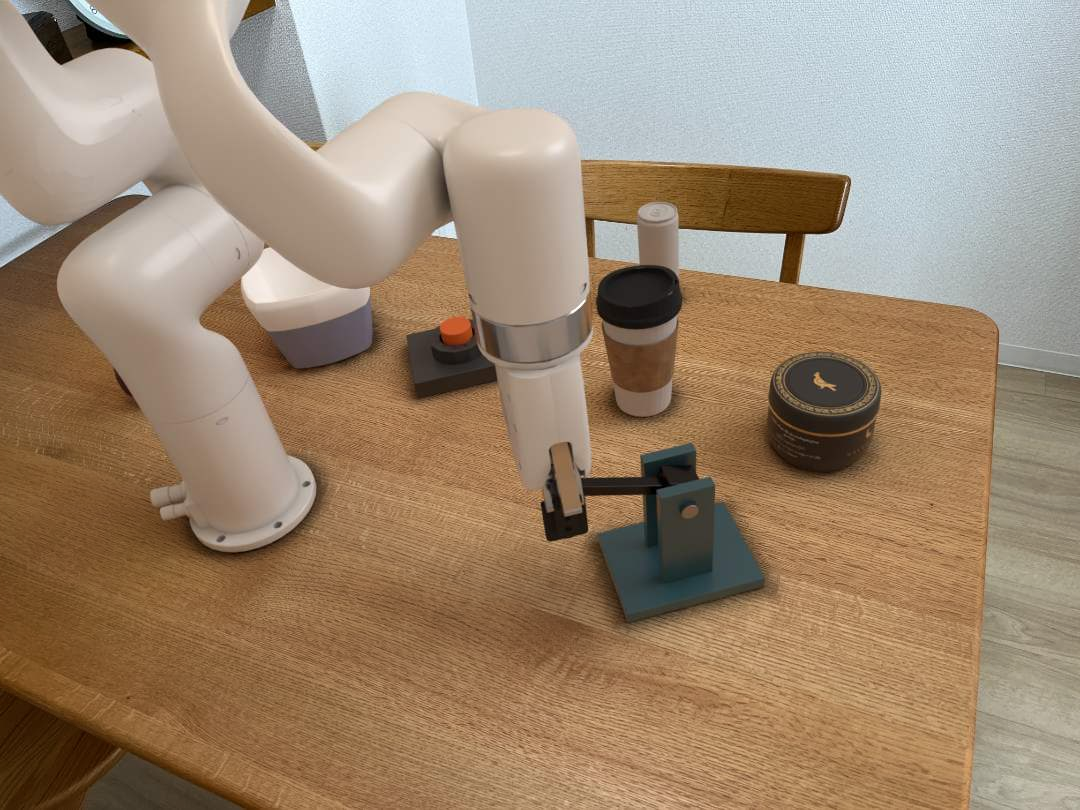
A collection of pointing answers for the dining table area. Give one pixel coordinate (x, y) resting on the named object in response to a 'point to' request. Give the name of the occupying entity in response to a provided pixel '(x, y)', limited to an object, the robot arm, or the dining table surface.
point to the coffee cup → (640, 335)
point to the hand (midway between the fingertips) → (558, 505)
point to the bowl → (307, 312)
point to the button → (456, 331)
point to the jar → (822, 410)
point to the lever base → (678, 546)
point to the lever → (635, 482)
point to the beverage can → (658, 235)
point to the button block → (446, 363)
